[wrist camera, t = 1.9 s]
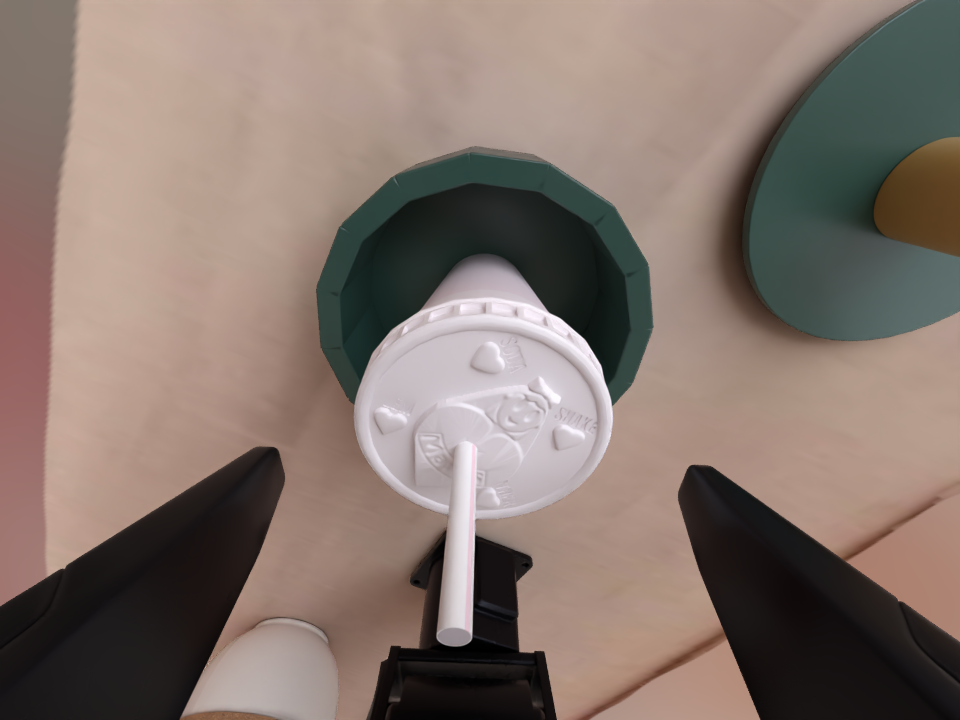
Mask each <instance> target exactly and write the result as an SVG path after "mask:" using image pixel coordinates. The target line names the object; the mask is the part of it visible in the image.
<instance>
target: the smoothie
mask: <svg viewBox="0 0 960 720" xmlns="http://www.w3.org/2000/svg"><path fill="white" fill-rule="evenodd" d="M612 425H613V409H612V403H611V398H610V394H609V391H608V388H607V386H606V383H605V380H604V376H603V372H602V367H601V365H600V363H599V361H598V360H597V358H596V357H595V355H594V353H593V352H592V350H591V349H590V347H589V345H588V344H587V342H586V340H585V339H584V338H582V337H581V336H580V335H579V334H578V333H577V332H576V331H574V330H573V329H572V328H571V327H570V326H569V325H567V324H566V323H565V322H564V321H563V320H562V319H560V318H559V317H556V316H554V315H552V314H550V313H549V312H548V311H547V309H546V308H545V307H544V305H543V304H542V303H541V301H540V300H539V298H538V297H537V296H536V294H535V293H534V292H533V290H532V289H531V287H530V286H529V285H528V283H527V282H526V281H525V279H524V278H523V276H522V275H521V274H520V272H519V271H518V270H517V268H516V267H515V266H514V265H513V264H512V263H510V262H509V261H508V260H506V259H504V258H502V257H500V256H497V255H493V254H475V255H471V256H469V257H466V258H464V259H462V260H461V261H459V262H458V263H457V264H456V265H455V266H454V267H453V268H452V269H451V270H450V272H449V273H448V274H447V276H446V277H445V278H444V280H443V281H442V282H441V284H440V285H439V286H438V288H437V289H436V290H435V292H434V293H433V294H432V296H431V297H430V298H429V300H428V301H427V302H426V304H425V305H424V306H423V308H422V309H421V310H420V311H419V312H417V313H416V314H414V315H413V316H411V317H410V318H408V319H407V320H405V321H404V322H402V323H401V324H399V325H398V326H396V327H395V328H393V329H392V330H391V331H390V333H389V334H388V335H387V336H386V337H385V339H384V340H383V341H382V342H381V343H380V345H379V346H378V347H377V348H376V349H375V351H374V352H373V353H372V355H371V358H370V360H369V363H368V365H367V368H366V371H365V373H364V376H363V378H362V382H361V384H360V386H359V389H358V392H357V395H356V401H355V406H354V427H355V432H356V437H357V440H358V443H359V446H360V448H361V451H362V453H363V455H364V457H365V459H366V460H367V462H368V464H369V465H370V466H371V468H372V469H373V470H374V472H375V473H376V474H377V475H378V476H379V477H380V479H381V480H382V481H384V482H385V483H386V484H387V485H388V486H389V487H390V488H392V489H393V490H394V491H395V492H396V493H398V494H400V495H401V496H403V497H404V498H406V499H408V500H409V501H411V502H413V503H414V504H417V505H419V506H421V507H424V508H426V509H429V510H431V511H434V512H437V513H441V514H445V515H448V523H447V533H446V543H445V554H444V564H443V574H442V584H441V595H440V605H439V615H438V625H437V636H436V637H437V639H438V641H439V642H441V643H442V644H445V645H448V646H463V645H466V644H468V643H469V642H470V641H471V640H472V626H473V589H474V552H475V519H476V520H479V519H502V518H509V517H515V516H521V515H524V514H527V513H531V512H534V511H537V510H540V509H542V508H544V507H547V506H549V505H551V504H553V503H555V502H557V501H559V500H561V499H562V498H564V497H565V496H567V495H568V494H570V493H571V492H573V491H574V490H575V489H577V488H578V487H579V486H580V485H581V484H582V483H583V482H584V481H585V480H586V479H587V478H588V477H589V476H590V475H591V474H592V473H593V471H594V470H595V469H596V467H597V466H598V464H599V463H600V461H601V459H602V458H603V456H604V454H605V451H606V449H607V447H608V444H609V441H610V437H611V432H612Z"/></svg>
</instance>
